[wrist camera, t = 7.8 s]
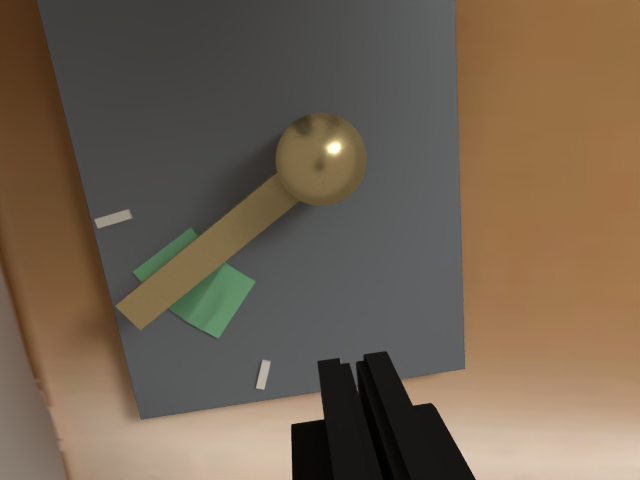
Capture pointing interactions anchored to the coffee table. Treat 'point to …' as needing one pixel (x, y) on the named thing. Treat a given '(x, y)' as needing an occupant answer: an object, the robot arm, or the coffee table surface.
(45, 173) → the coffee table surface
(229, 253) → the needle
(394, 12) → the dial plate
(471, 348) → the coffee table surface
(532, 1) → the coffee table surface
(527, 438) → the coffee table surface
